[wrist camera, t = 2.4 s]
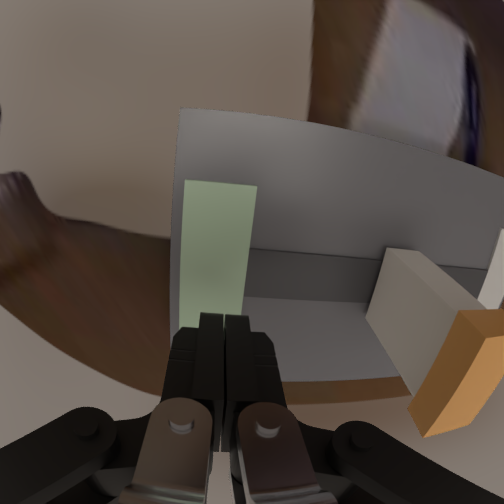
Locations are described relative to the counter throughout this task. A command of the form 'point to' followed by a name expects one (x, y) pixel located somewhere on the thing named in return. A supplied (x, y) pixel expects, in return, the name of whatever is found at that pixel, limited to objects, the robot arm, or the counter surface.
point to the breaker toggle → (436, 340)
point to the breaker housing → (318, 232)
